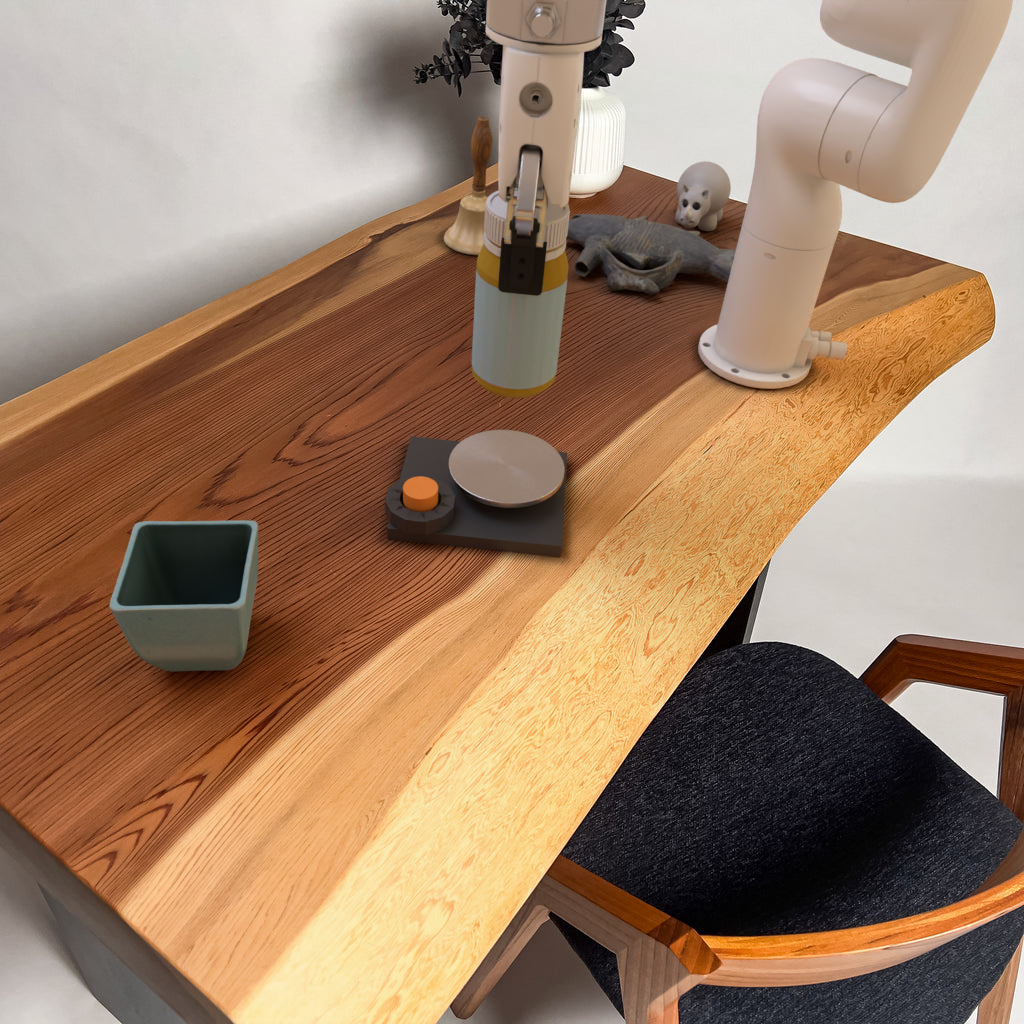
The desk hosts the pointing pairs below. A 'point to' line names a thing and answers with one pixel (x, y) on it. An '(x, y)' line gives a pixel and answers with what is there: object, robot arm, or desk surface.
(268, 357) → the desk surface
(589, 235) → the grey lumpy piece
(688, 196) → the round bodied animal figurine
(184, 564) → the flower pot
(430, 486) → the tare button
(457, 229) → the hand bell
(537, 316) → the bottle
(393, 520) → the scale
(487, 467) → the weighing platform
